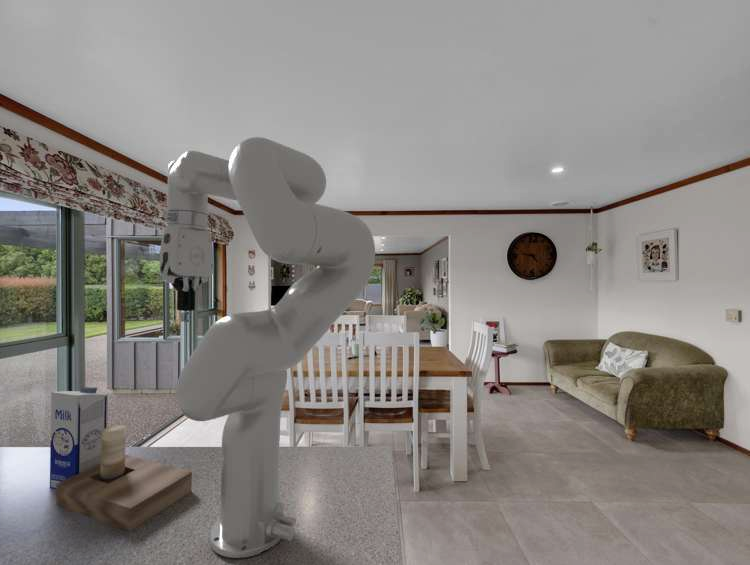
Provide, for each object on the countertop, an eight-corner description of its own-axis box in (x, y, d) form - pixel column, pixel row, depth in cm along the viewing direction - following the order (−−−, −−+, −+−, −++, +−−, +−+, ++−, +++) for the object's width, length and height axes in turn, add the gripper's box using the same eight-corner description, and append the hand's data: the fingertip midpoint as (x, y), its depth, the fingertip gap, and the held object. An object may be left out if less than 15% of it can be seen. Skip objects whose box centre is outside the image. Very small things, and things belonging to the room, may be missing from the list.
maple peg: (129, 485, 75) (130, 427, 75) (108, 496, 71) (110, 434, 71) (115, 481, 77) (116, 423, 77) (94, 491, 73) (96, 431, 73)
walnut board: (191, 491, 75) (191, 472, 75) (129, 531, 63) (130, 508, 63) (123, 471, 82) (123, 454, 82) (55, 504, 70) (56, 483, 70)
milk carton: (48, 488, 76) (50, 391, 75) (82, 471, 82) (83, 382, 82) (75, 493, 74) (77, 394, 74) (107, 476, 80) (109, 385, 80)
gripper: (169, 215, 68) (167, 314, 68) (227, 227, 82) (226, 308, 82) (140, 217, 71) (139, 312, 71) (201, 228, 85) (200, 307, 85)
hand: (185, 310), depth 77 cm, fingers closed
